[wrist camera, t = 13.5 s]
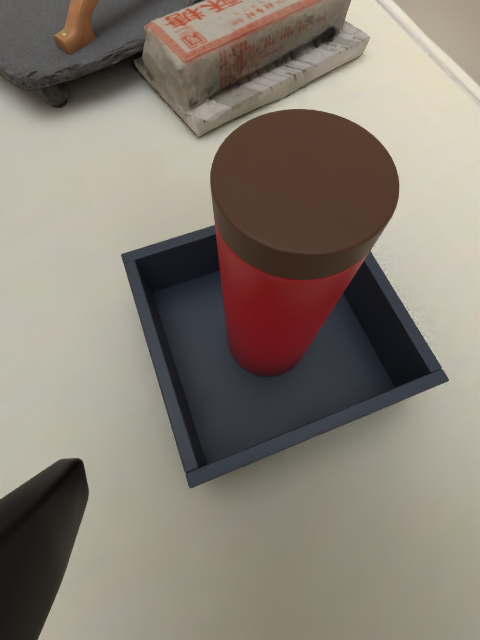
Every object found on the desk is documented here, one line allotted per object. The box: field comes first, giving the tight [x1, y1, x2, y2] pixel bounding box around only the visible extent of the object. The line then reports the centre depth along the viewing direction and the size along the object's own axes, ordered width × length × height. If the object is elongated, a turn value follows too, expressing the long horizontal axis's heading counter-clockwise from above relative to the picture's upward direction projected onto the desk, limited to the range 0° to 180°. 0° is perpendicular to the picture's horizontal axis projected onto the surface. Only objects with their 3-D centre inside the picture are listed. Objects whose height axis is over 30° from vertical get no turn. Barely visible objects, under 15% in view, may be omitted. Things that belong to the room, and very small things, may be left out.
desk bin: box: [121, 225, 449, 488], centre depth 18 cm, size 12×12×5 cm
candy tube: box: [210, 109, 399, 376], centre depth 14 cm, size 5×5×12 cm
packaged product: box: [134, 0, 370, 137], centre depth 28 cm, size 18×5×10 cm
